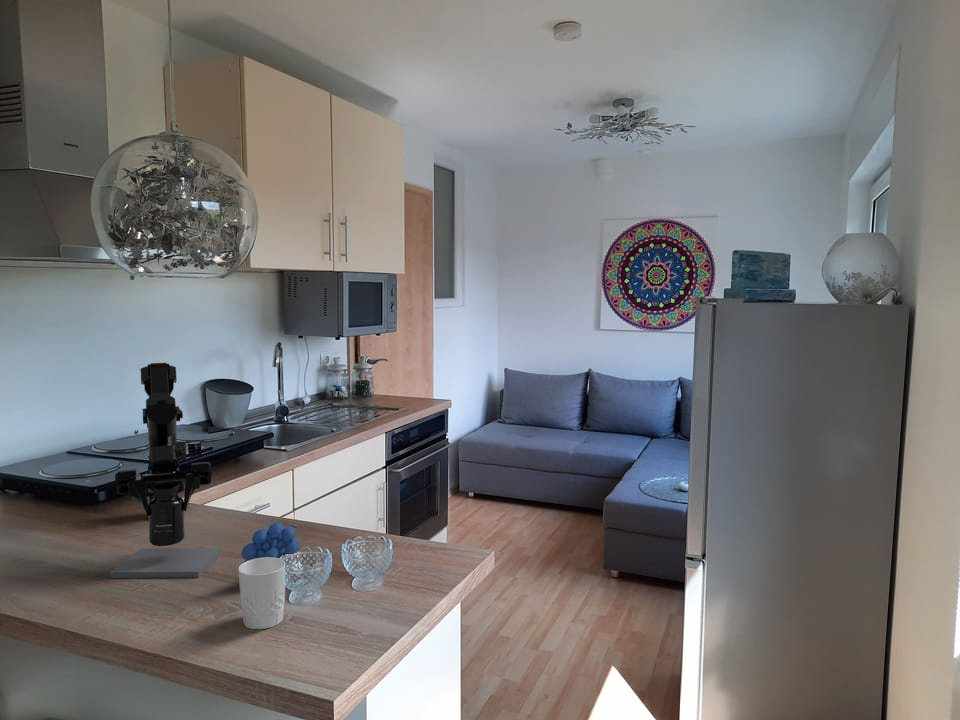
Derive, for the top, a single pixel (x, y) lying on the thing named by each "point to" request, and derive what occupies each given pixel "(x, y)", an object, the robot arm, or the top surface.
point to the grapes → (271, 543)
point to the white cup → (262, 592)
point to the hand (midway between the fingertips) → (166, 512)
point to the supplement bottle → (166, 516)
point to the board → (167, 563)
